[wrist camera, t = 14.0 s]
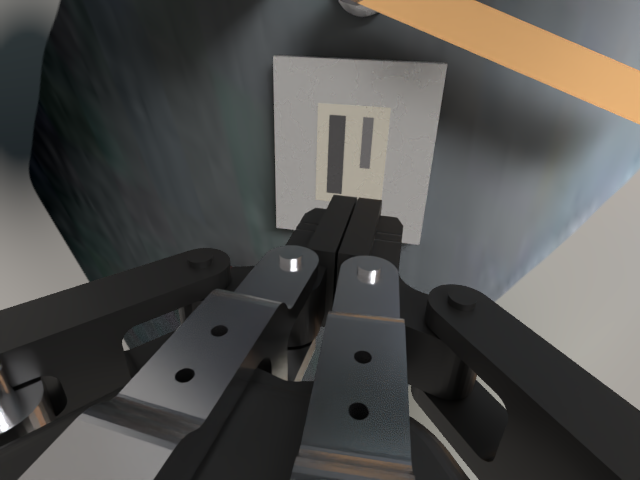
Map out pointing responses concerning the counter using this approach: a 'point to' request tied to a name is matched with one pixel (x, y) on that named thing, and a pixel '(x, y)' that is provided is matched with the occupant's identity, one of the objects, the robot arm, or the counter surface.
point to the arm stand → (357, 9)
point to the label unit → (355, 134)
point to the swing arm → (522, 49)
